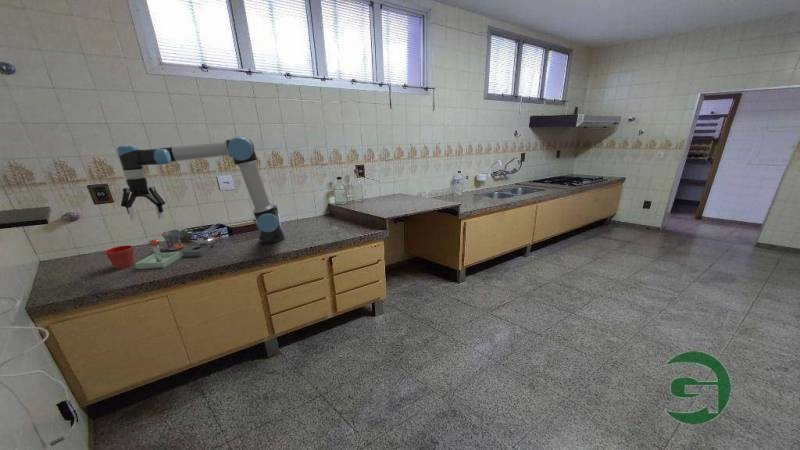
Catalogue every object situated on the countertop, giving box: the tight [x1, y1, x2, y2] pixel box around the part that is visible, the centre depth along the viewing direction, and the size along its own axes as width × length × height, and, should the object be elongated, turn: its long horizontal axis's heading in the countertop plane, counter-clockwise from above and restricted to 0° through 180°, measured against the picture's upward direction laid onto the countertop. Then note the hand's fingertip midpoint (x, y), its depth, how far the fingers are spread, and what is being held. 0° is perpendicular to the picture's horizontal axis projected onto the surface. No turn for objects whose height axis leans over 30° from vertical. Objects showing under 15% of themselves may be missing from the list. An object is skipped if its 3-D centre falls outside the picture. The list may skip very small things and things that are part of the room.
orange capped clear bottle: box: [149, 238, 163, 262], centre depth 159 cm, size 4×4×12 cm
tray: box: [134, 251, 183, 270], centre depth 161 cm, size 14×14×3 cm
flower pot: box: [104, 244, 135, 270], centre depth 157 cm, size 11×11×10 cm
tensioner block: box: [181, 235, 216, 258], centre depth 177 cm, size 10×20×7 cm, turn 3°
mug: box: [160, 229, 184, 251], centre depth 181 cm, size 12×9×11 cm
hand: (147, 219), depth 154 cm, fingers open, 13 cm apart
